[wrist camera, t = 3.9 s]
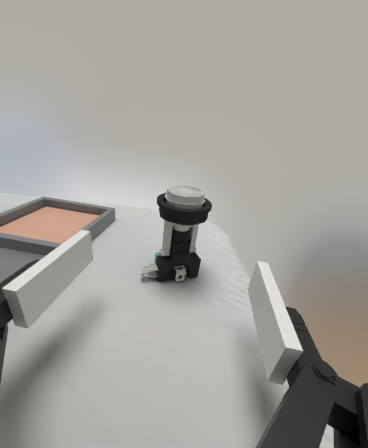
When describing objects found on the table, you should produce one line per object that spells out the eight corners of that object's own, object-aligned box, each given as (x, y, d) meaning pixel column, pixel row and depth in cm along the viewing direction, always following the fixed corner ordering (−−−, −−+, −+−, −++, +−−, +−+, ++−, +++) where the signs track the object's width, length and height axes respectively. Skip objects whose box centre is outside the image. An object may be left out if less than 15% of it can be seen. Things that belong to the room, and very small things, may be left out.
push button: (146, 297, 20) (151, 201, 15) (136, 264, 24) (138, 182, 20) (205, 285, 22) (224, 199, 18) (187, 257, 27) (198, 183, 22)
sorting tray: (-241, 338, 13) (-268, 316, 12) (45, 207, 35) (43, 196, 34) (-64, 380, 12) (-79, 360, 11) (115, 219, 34) (114, 208, 33)
